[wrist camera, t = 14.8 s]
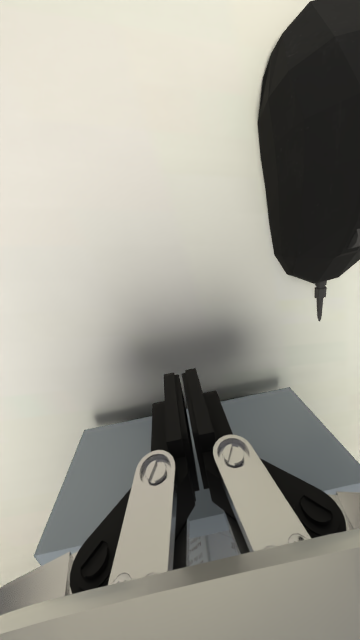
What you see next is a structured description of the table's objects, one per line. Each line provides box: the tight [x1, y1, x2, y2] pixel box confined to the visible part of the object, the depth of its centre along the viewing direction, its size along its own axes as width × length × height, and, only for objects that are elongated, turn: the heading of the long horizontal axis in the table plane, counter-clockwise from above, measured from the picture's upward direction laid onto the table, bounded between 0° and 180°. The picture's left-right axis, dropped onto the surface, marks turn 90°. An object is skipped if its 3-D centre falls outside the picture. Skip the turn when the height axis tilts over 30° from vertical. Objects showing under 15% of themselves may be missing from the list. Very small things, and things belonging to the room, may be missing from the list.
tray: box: [34, 387, 360, 566], centre depth 14 cm, size 18×14×6 cm
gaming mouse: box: [258, 0, 360, 321], centre depth 10 cm, size 6×15×4 cm, turn 13°
